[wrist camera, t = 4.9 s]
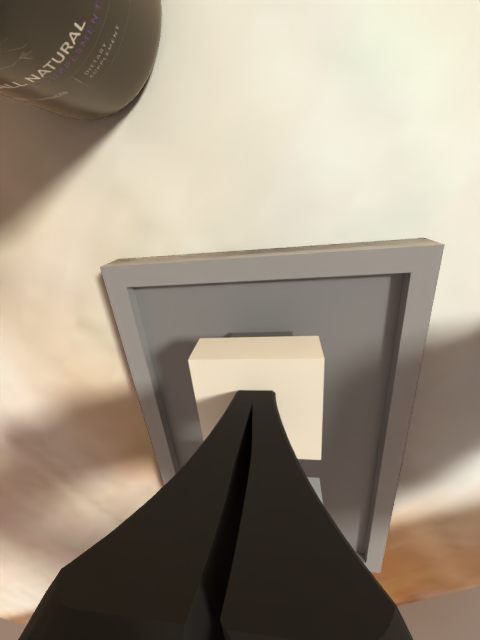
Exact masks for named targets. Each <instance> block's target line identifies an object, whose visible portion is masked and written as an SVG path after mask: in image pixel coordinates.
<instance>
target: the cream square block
mask: <svg viewBox="0 0 480 640" xmlns="http://www.w3.org/2000/svg"><path fill="white" fill-rule="evenodd" d="M188 363H189V368H190V373H191V378H192V383H193V389H194V394H195V399H196V404H197V409H198V414H199V420H200V425H201V430H202V435H203V440H205V439H206V438H207V437H208V435H209V434H210V433H211V431H212V430H213V428H214V427H215V426H216V424H217V423H218V421H219V420H220V418H221V417H222V415H223V414H224V412H225V411H226V409H227V408H228V406H229V404H230V403H231V401H232V399H233V398H234V396H235V394H236V392H238V391H239V390H273V391H274V392H275V393H276V403H277V407H278V411H279V414H280V418H281V421H282V424H283V426H284V429H285V431H286V434H287V437H288V439H289V441H290V444H291V446H292V448H293V450H294V452H295V455H296V457H297V459H311V460H321V448H322V418H323V388H324V355H323V351H322V347H321V343H320V340H319V336H293V335H292V331H291V332H250V333H232V336H231V338H200V339H199V341H198V342H197V344H196V346H195V348H194V350H193V352H192V353H191V355H190V357H189V359H188Z"/></svg>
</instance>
